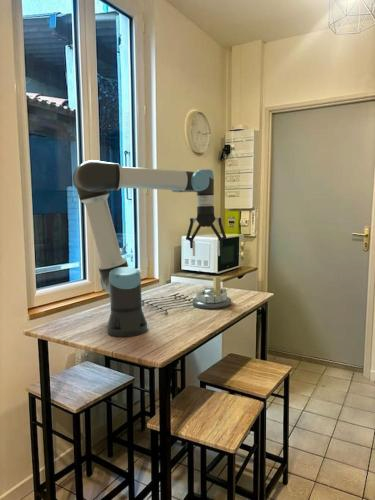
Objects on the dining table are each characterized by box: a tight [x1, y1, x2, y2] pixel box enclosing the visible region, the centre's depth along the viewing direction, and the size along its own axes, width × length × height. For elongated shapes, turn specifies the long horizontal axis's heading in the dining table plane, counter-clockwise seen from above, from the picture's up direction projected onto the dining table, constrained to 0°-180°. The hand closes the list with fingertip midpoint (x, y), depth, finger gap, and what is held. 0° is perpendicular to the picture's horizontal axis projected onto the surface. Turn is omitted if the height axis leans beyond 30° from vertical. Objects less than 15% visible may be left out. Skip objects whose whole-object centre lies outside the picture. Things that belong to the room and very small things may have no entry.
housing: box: [192, 287, 232, 310], centre depth 179 cm, size 18×18×7 cm
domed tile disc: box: [195, 275, 228, 303], centre depth 179 cm, size 14×14×12 cm
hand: (206, 255), depth 172 cm, fingers open, 10 cm apart
